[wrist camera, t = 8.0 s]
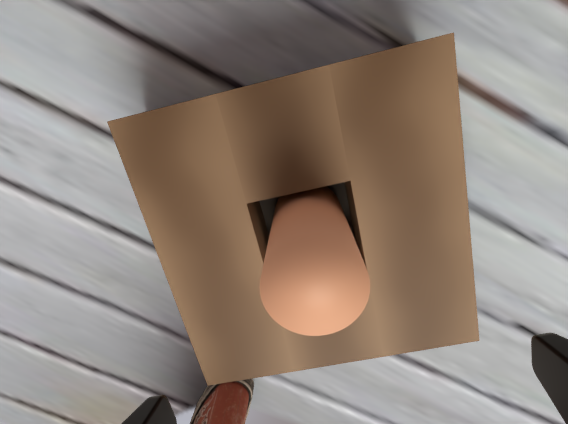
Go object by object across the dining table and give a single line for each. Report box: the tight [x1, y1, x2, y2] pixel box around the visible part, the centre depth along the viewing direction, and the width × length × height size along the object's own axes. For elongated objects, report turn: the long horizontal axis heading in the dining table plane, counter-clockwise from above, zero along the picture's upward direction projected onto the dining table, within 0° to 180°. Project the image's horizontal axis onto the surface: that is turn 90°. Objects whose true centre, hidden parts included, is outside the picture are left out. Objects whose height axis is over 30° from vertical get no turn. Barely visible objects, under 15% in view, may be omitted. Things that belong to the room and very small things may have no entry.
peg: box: [259, 186, 370, 336], centre depth 15 cm, size 4×4×8 cm
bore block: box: [108, 33, 479, 386], centre depth 18 cm, size 14×14×4 cm
